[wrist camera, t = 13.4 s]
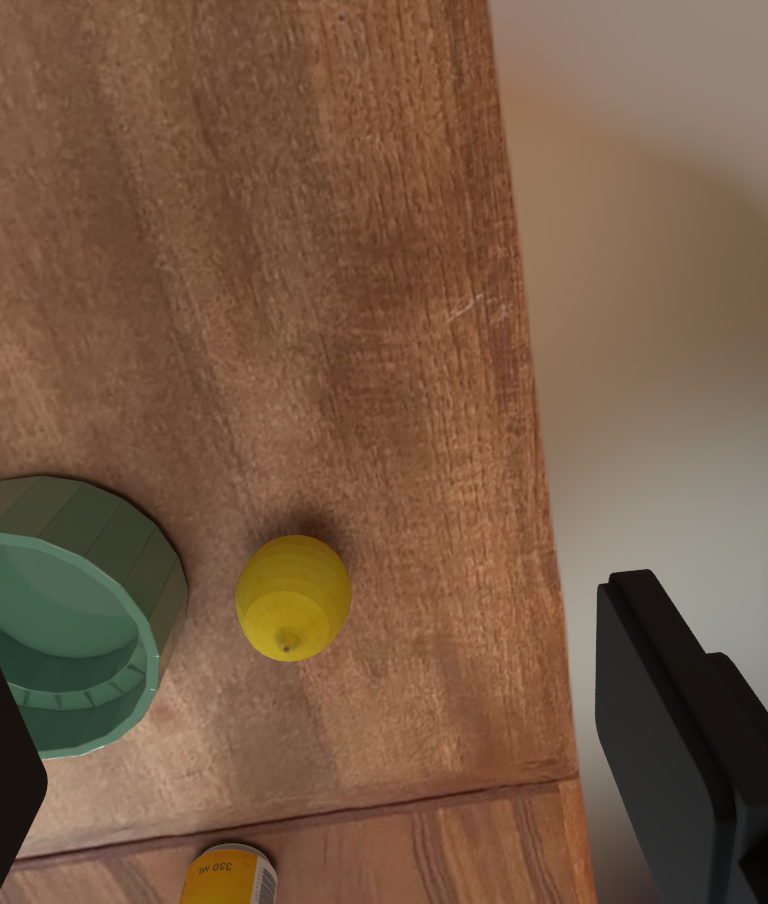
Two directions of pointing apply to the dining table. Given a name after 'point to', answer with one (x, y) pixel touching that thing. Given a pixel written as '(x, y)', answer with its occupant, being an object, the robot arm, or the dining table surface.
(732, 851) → the robot arm
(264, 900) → the beer can
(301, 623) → the fruit
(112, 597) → the green pet bowl
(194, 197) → the dining table surface
